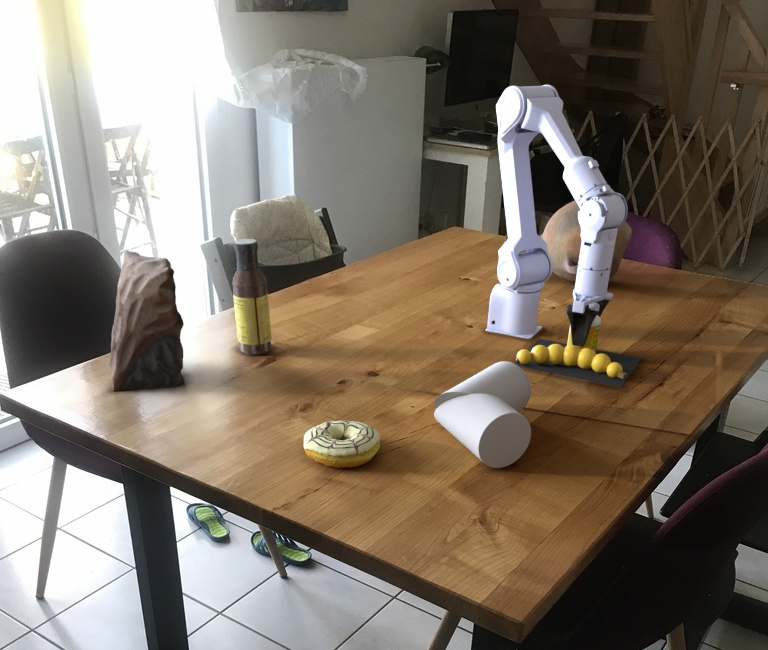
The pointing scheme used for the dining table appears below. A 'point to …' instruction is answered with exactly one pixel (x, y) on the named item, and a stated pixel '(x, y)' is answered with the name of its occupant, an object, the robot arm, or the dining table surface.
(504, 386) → the bent grey cylinder
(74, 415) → the dining table surface
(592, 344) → the supplement bottle
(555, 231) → the jug
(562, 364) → the placemat
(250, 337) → the sauce bottle
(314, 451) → the decorated donut
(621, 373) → the yellow lumpy bar
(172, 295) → the brown rock
